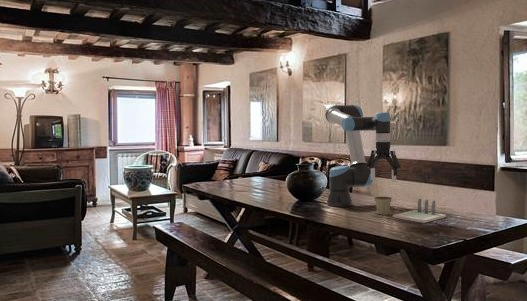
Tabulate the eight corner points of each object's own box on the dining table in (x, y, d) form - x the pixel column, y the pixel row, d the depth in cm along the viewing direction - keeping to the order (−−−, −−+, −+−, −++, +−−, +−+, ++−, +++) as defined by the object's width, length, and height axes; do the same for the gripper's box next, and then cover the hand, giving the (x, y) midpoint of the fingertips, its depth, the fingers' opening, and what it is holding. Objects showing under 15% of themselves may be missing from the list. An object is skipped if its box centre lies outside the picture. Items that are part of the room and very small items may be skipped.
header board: (392, 217, 224) (392, 201, 224) (414, 212, 236) (414, 197, 236) (424, 222, 210) (424, 206, 209) (446, 217, 222) (446, 201, 222)
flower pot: (379, 216, 228) (379, 199, 227) (370, 212, 237) (370, 197, 236) (395, 214, 230) (395, 198, 230) (386, 211, 239) (386, 196, 239)
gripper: (360, 141, 239) (360, 179, 240) (398, 141, 219) (399, 183, 220) (368, 141, 244) (368, 178, 245) (407, 141, 224) (407, 182, 225)
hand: (383, 180), depth 233 cm, fingers open, 13 cm apart
